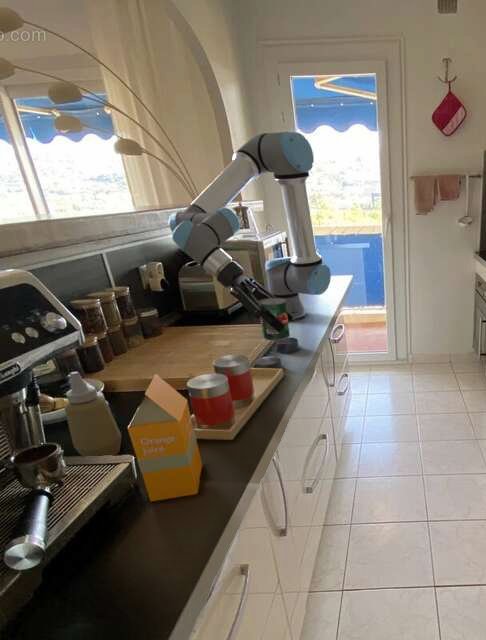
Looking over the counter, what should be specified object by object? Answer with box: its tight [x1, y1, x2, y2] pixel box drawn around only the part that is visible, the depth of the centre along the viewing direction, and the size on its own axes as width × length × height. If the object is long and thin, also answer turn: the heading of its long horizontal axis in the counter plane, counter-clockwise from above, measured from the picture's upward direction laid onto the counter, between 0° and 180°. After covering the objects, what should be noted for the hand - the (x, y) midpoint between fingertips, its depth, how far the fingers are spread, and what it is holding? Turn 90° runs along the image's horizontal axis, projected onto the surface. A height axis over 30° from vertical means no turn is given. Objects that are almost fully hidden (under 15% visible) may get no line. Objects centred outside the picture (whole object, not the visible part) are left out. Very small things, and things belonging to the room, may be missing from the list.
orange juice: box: [127, 373, 203, 502], centre depth 77 cm, size 8×9×20 cm
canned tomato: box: [258, 298, 291, 342], centre depth 134 cm, size 8×8×11 cm
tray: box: [190, 367, 285, 441], centre depth 110 cm, size 35×12×2 cm, turn 176°
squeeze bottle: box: [64, 371, 122, 457], centre depth 86 cm, size 8×8×18 cm
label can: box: [186, 373, 236, 430], centre depth 97 cm, size 8×8×11 cm
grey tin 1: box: [255, 355, 283, 369], centre depth 130 cm, size 7×7×3 cm
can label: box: [212, 354, 255, 409], centre depth 108 cm, size 8×8×11 cm
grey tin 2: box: [275, 336, 300, 354], centre depth 146 cm, size 7×7×3 cm
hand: (286, 324), depth 134 cm, fingers closed on canned tomato, 8 cm apart
